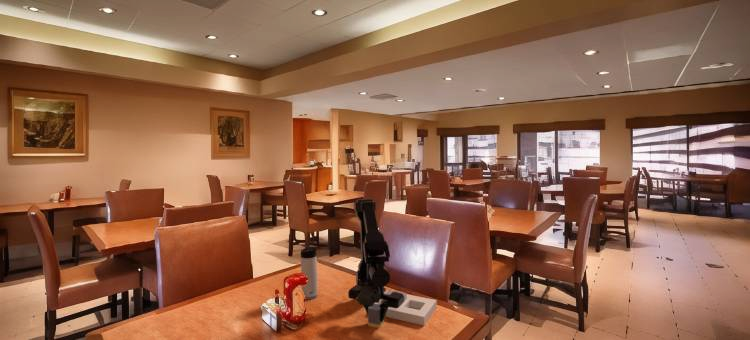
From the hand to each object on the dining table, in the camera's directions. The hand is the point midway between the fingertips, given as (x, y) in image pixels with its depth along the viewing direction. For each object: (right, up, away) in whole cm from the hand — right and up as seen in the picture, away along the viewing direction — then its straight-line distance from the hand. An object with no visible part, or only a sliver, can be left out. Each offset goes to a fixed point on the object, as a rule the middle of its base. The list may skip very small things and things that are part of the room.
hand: (376, 320), depth 117 cm
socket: (+10, -1, +9) cm, 14 cm away
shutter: (+7, +3, +11) cm, 13 cm away
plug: (0, -1, 0) cm, 1 cm away
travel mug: (-27, -1, +23) cm, 35 cm away
